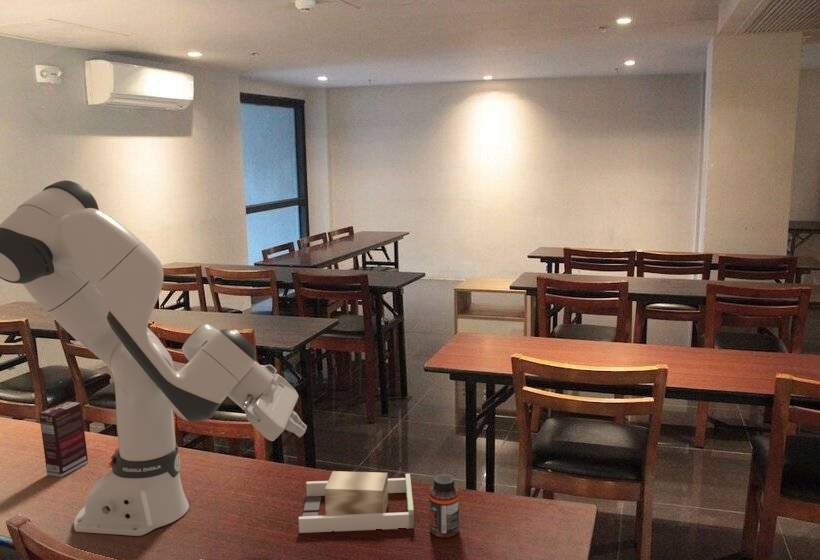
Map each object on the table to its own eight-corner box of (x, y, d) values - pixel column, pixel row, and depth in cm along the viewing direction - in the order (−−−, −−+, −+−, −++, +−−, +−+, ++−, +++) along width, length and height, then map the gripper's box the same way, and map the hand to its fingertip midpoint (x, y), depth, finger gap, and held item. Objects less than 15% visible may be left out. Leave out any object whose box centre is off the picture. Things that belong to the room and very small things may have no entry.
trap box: (299, 532, 138) (298, 514, 137) (307, 494, 153) (306, 477, 153) (413, 528, 139) (413, 509, 138) (410, 490, 154) (409, 473, 154)
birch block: (326, 520, 143) (324, 488, 141) (334, 500, 150) (332, 471, 149) (383, 522, 141) (382, 490, 140) (388, 502, 149) (387, 472, 148)
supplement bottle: (424, 527, 139) (423, 475, 137) (450, 520, 141) (450, 469, 139) (437, 542, 134) (436, 487, 131) (464, 535, 136) (464, 481, 134)
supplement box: (74, 460, 173) (67, 400, 170) (89, 463, 171) (82, 402, 168) (45, 475, 165) (37, 412, 162) (60, 478, 163) (53, 414, 160)
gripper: (251, 395, 129) (306, 443, 130) (272, 362, 149) (320, 403, 150) (229, 418, 129) (284, 465, 131) (253, 382, 149) (301, 423, 151)
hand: (303, 432), depth 141 cm, fingers closed
